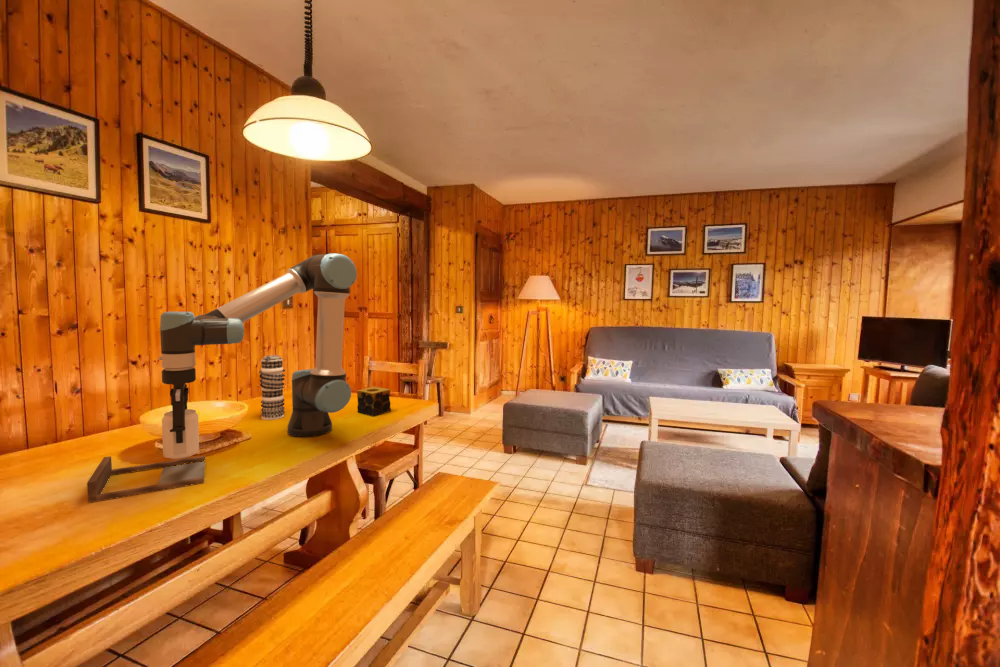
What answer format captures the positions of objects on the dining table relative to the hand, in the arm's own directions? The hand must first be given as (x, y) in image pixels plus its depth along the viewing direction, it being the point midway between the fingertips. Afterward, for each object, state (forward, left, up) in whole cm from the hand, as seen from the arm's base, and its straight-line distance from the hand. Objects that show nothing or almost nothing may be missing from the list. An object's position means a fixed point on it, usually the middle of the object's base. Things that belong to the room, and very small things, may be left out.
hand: (181, 448), depth 122 cm
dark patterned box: (-65, -38, -8) cm, 76 cm away
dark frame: (+6, 0, -7) cm, 10 cm away
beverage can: (0, 0, -2) cm, 2 cm away
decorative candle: (-27, -49, -8) cm, 57 cm away
